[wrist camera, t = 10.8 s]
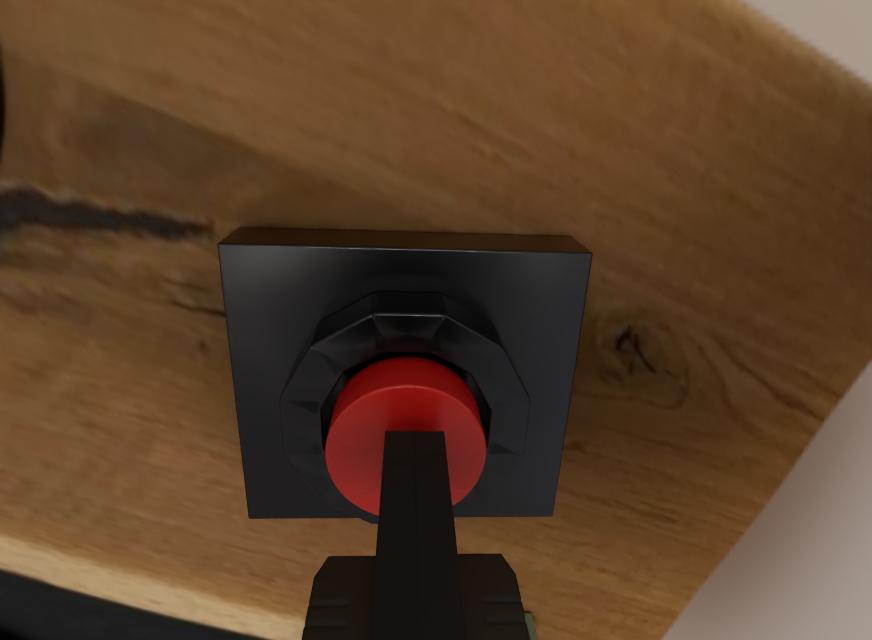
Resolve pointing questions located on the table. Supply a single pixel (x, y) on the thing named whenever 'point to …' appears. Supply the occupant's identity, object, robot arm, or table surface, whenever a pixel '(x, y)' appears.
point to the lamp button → (402, 425)
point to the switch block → (400, 350)
